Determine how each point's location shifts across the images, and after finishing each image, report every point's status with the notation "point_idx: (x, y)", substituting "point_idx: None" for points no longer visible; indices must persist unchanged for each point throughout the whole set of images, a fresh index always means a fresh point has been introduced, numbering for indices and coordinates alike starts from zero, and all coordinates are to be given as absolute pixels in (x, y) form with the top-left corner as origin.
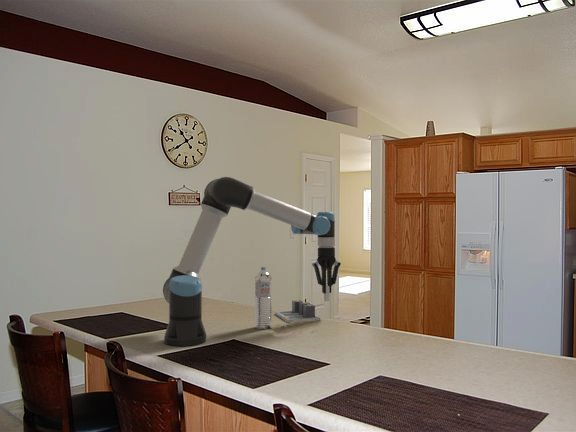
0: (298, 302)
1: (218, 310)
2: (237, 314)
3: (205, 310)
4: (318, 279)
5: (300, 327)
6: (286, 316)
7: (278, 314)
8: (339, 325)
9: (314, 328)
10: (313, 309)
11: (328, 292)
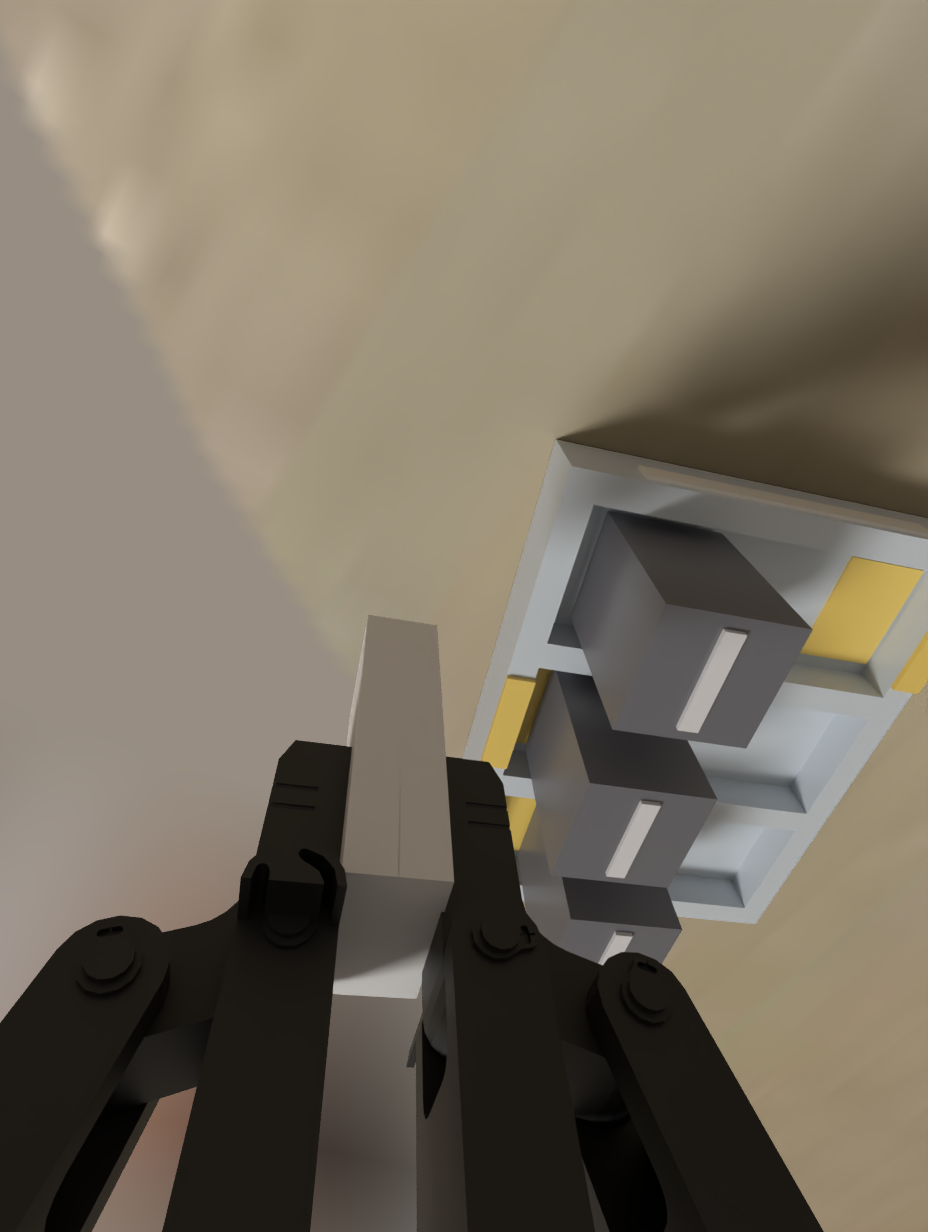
0: (631, 918)
1: (862, 1136)
2: (870, 1032)
3: (921, 1151)
4: (775, 1189)
5: (910, 372)
6: (865, 703)
7: (805, 837)
8: (381, 190)
9: (825, 206)
10: (673, 578)
11: (385, 736)
